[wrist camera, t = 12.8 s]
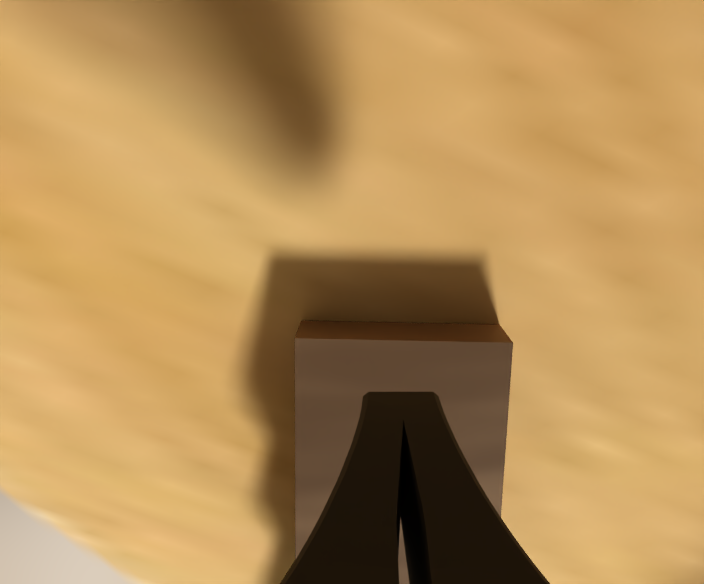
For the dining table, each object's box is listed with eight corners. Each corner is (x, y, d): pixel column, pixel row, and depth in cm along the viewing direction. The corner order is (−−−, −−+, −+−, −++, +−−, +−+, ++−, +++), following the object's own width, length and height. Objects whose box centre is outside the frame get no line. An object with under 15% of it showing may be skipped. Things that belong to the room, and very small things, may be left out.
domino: (295, 338, 16) (295, 604, 17) (513, 342, 15) (493, 610, 17) (301, 320, 17) (301, 565, 19) (499, 324, 17) (483, 570, 19)
